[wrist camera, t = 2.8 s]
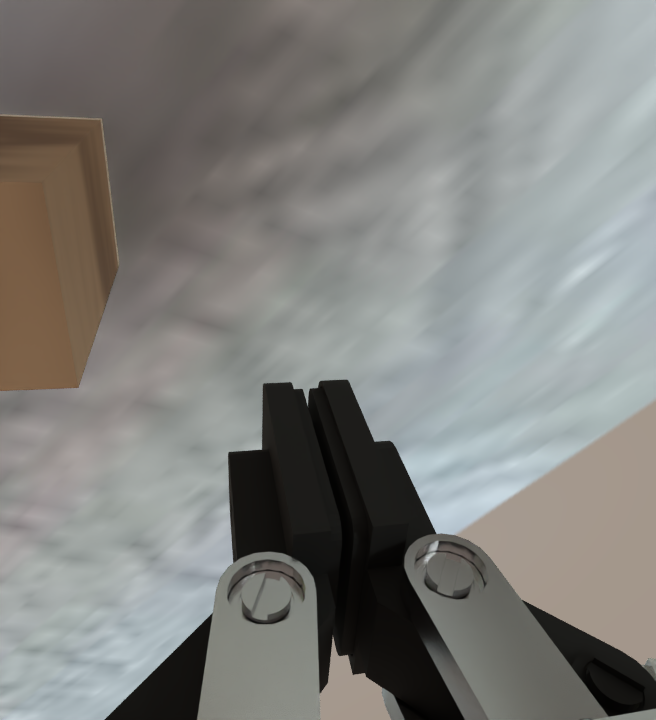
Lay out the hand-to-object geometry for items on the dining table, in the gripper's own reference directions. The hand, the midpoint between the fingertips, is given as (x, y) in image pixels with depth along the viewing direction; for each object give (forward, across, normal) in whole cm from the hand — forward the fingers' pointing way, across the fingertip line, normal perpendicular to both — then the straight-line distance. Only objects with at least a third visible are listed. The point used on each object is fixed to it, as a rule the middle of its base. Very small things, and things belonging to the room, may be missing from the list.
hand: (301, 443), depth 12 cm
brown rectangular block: (+16, +8, -1) cm, 19 cm away
